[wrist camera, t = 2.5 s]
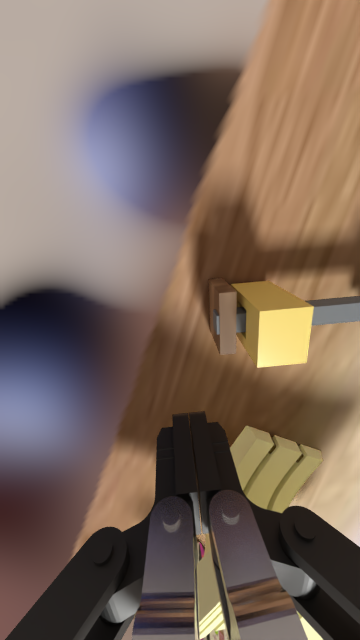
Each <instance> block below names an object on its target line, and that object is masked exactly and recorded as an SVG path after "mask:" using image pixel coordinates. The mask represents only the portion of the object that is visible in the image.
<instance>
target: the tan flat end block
mask: <svg viewBox="0 0 360 640" xmlns="http://www.w3.org/2000/svg"><path fill="white" fill-rule="evenodd" d="M209 307H210V331H211V334H212V336H213V339H214V341H215V343H216V346H217V348H218V351H219V353H220V355H226V354H236V308H237V292H236V291H235V290H234V289H233V288H232V287H231V286H230V285H229V284H228V283H227V282H226V281H225V280H224V279H223V278H218V279H209ZM213 309H216V311H217V313H218V315H219V324H220V334H218V335H217V334H216V331H215V329H214V327H213Z"/></svg>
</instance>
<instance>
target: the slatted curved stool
mask: <svg viewBox="0 0 360 640" xmlns="http://www.w3.org/2000/svg"><path fill="white" fill-rule="evenodd" d="M230 451H231V454H232V457H233V461H234V464H235V467H236V471H237V474H238V478H239V481H240V485H241V488H242V490H243V492H244V494H245V495H246V497H247V498H248V499H249V500H250V501H251V502H252V503H254V504H255V505H257V506H259V507H261V508H264V509H267V510H271V511H275V512H279V513H282V512H283V511H284V510H285V509H286V508H288V507H289V505H290V503H291V501H292V499H293V498H294V496H295V495H296V493H297V492H298V490H299V489H300V488H301V486H302V485H303V484H304V482H305V481H306V480H307V479H308V477H309V476H310V475H311V474H312V473H313V471H314V470H315V469H316V468H317V467H318V466H319V465H320V464H321V462H322V461H323V459H322V455H321V451H320V450H317V449H314V448H311V447H308V446H305V445H302V444H300V446H299V447H298V445H297V444H296V442H293V441H290V440H288V439H285V438H282V437H279V436H276V435H274V436H273V437H272V438H271V436H270V434H269V433H267V432H264V431H261V430H258V429H256V428H253V427H250V426H247V425H246V426H245V428H244V429H243V431H242V432H241V433H240V435H239V436H238V438H237V439H236V440H235V442H234V443H233V445H232V446H231V447H230ZM197 578H198V603H199V629H200V639H202V638H204V637H206V636H207V635H208V634H209V633H210V632H211V631H212V630H213V629H214V630H215V631H218V630H223V629H225V624H224V619H223V614H222V609H221V604H220V599H219V594H218V589H217V584H216V579H215V574H214V569H213V564H212V556H211V546H210V539H209V533H206V539H205V552H204V557H203V558H202V559H201V560H200V561H199V562H198V563H197ZM297 613H298V612H297ZM135 615H136V614H135ZM298 615H299V618H300V620H301V623H302V625H303V628H304V631H305V633H306V636H307V638H308V640H323V639H322V637H321V636H320V635H319V634H318V633H317V632H316V631H315V630H314V629H313V628H312V627H311V626H310V625H309V623H308V622H307V621H306V620H305V619H304V618H303V617H302V616H301V615H300V614H299V613H298Z"/></svg>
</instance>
